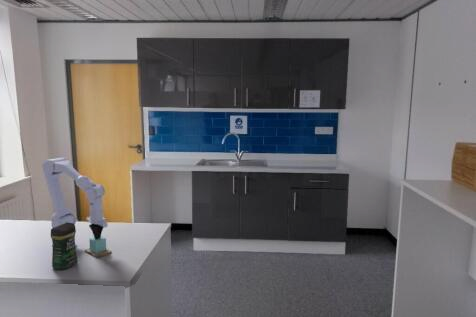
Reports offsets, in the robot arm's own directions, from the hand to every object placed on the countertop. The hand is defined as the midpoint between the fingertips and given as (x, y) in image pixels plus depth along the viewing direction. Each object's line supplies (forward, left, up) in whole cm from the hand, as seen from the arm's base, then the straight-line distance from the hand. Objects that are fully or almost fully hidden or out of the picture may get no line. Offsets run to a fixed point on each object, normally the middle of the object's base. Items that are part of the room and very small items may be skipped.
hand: (97, 238), depth 155 cm
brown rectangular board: (0, 0, -7) cm, 7 cm away
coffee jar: (+1, -16, -7) cm, 18 cm away
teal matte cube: (0, 0, -6) cm, 6 cm away
